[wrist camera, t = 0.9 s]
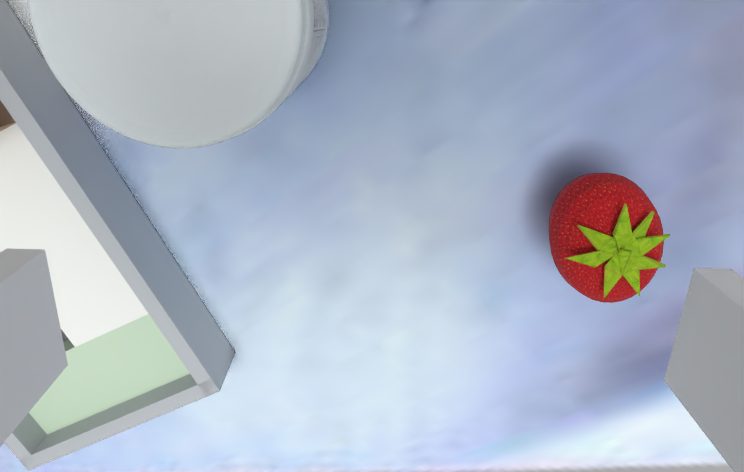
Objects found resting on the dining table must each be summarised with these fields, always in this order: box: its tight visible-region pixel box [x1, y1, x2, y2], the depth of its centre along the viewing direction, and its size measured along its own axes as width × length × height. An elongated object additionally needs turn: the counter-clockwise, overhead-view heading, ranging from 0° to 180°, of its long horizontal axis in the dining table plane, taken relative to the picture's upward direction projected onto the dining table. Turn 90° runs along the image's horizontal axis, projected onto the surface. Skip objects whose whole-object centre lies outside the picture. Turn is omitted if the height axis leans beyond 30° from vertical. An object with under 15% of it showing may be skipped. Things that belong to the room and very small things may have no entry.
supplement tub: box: [27, 0, 329, 148], centre depth 26 cm, size 10×10×15 cm
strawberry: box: [549, 173, 670, 303], centre depth 33 cm, size 6×8×10 cm
